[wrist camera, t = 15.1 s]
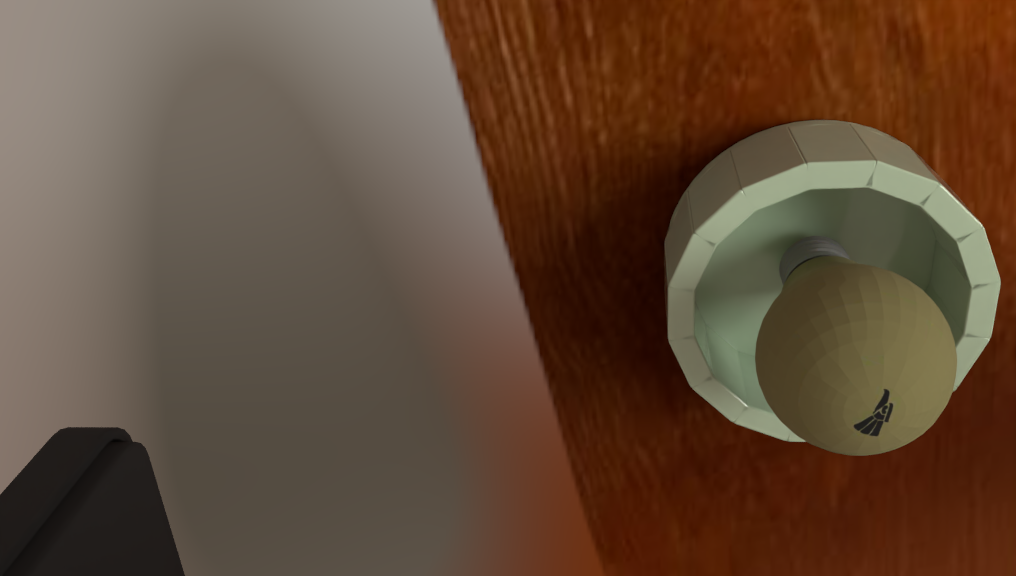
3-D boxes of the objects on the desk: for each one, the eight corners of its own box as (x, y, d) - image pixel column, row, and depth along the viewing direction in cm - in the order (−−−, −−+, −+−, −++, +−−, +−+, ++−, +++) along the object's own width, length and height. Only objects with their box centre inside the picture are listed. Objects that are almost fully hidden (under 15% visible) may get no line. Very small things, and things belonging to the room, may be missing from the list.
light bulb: (885, 324, 35) (972, 497, 26) (731, 328, 36) (765, 496, 27) (898, 183, 32) (999, 320, 23) (734, 190, 33) (771, 325, 24)
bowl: (663, 375, 38) (667, 441, 34) (663, 125, 33) (667, 166, 29) (935, 375, 36) (973, 444, 32) (974, 113, 32) (1024, 155, 28)
